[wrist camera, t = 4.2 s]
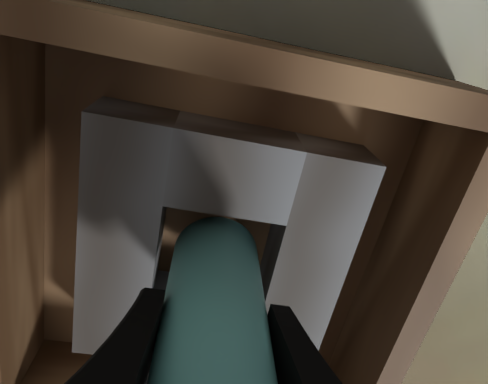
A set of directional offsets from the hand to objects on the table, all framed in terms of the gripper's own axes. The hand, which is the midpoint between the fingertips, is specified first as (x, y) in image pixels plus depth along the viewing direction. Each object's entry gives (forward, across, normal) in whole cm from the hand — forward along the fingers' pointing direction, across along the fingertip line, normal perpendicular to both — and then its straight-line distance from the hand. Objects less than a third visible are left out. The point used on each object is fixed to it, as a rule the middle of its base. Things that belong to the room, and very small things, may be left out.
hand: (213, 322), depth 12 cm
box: (+6, 0, 0) cm, 6 cm away
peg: (+4, 0, 0) cm, 4 cm away
